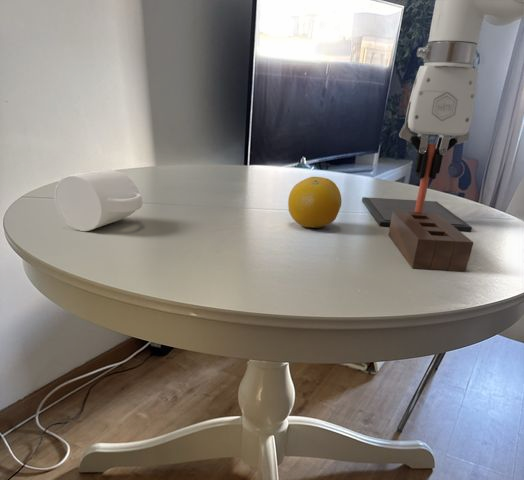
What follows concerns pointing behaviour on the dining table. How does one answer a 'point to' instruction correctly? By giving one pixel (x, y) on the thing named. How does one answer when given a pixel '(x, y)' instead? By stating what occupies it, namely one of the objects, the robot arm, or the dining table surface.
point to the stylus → (425, 179)
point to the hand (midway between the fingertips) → (425, 176)
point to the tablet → (385, 207)
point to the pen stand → (429, 241)
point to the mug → (96, 198)
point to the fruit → (314, 202)
